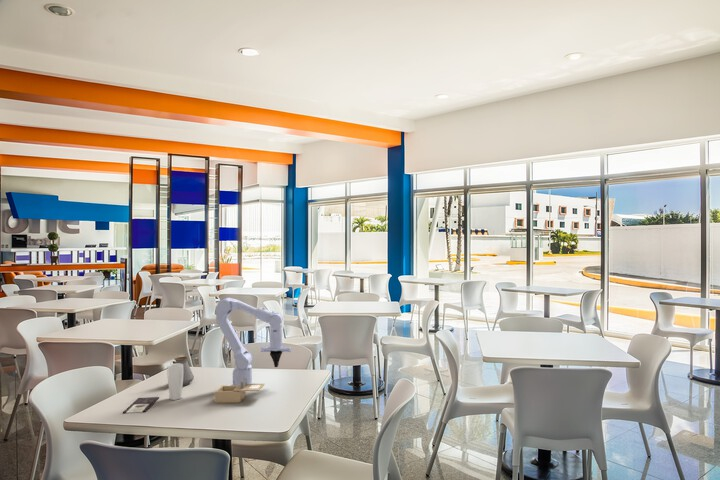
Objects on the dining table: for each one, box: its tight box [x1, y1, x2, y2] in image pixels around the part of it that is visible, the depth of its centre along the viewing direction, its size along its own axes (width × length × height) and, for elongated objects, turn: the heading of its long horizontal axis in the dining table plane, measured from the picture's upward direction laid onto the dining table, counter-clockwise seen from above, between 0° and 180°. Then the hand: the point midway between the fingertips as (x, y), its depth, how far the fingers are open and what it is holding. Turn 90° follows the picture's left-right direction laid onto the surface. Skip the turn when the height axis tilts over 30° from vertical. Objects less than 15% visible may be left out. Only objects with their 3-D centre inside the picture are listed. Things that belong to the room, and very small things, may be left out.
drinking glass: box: [166, 363, 184, 401], centre depth 211 cm, size 7×7×15 cm
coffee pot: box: [169, 356, 195, 387], centre depth 229 cm, size 21×12×15 cm, turn 6°
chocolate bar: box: [122, 396, 160, 414], centre depth 203 cm, size 9×1×18 cm
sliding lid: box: [233, 378, 265, 392], centre depth 209 cm, size 11×9×4 cm
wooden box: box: [214, 385, 247, 404], centre depth 209 cm, size 11×9×5 cm
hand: (276, 366), depth 228 cm, fingers closed
